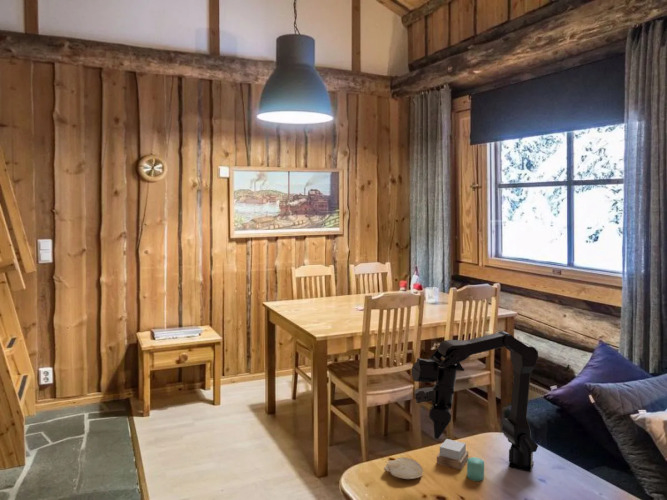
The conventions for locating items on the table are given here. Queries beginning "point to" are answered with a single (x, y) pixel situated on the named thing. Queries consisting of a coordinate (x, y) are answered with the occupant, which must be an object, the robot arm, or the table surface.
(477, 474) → the teal cylinder
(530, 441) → the robot arm
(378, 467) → the table surface
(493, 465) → the table surface
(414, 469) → the seashell
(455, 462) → the walnut base
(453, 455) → the grey block
